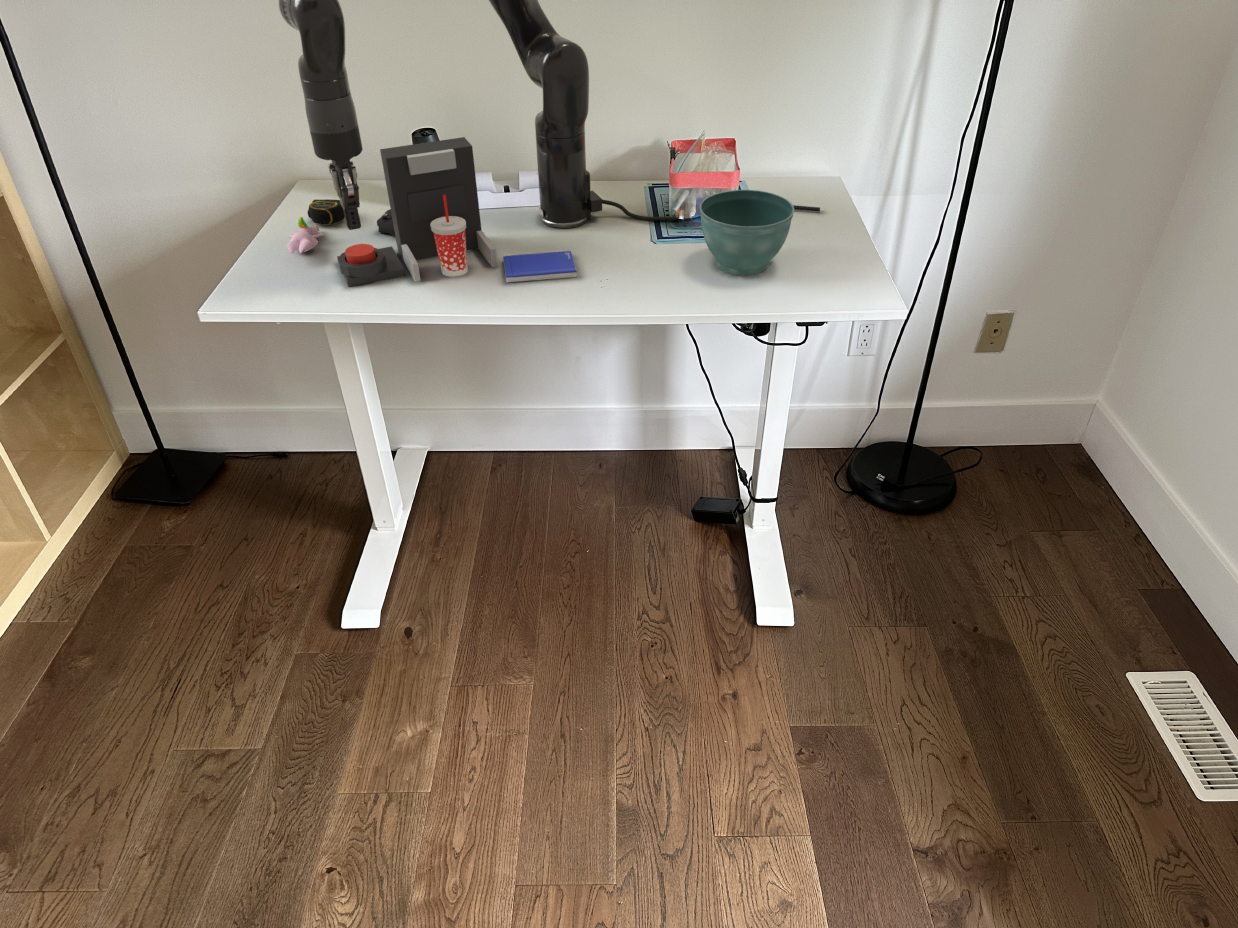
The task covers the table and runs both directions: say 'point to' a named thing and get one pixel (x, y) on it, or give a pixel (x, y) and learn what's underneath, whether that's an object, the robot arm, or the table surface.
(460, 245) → the beverage cup
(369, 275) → the button deck
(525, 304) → the table surface
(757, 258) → the flower pot
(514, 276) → the hard drive
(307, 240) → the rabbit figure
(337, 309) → the table surface
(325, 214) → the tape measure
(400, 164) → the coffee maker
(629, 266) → the table surface
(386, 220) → the game controller
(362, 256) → the power button
